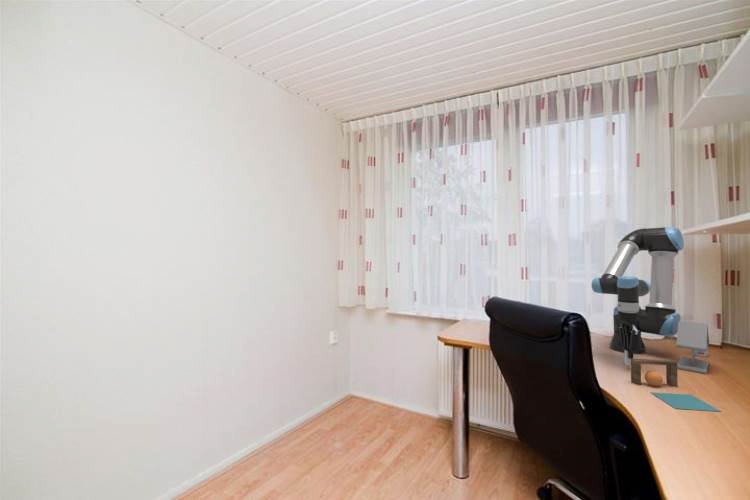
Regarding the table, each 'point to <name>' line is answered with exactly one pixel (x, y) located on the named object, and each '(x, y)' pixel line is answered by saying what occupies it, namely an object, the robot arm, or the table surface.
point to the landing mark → (684, 402)
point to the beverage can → (701, 352)
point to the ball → (653, 378)
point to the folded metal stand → (692, 345)
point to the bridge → (670, 364)
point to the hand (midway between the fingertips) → (629, 364)
